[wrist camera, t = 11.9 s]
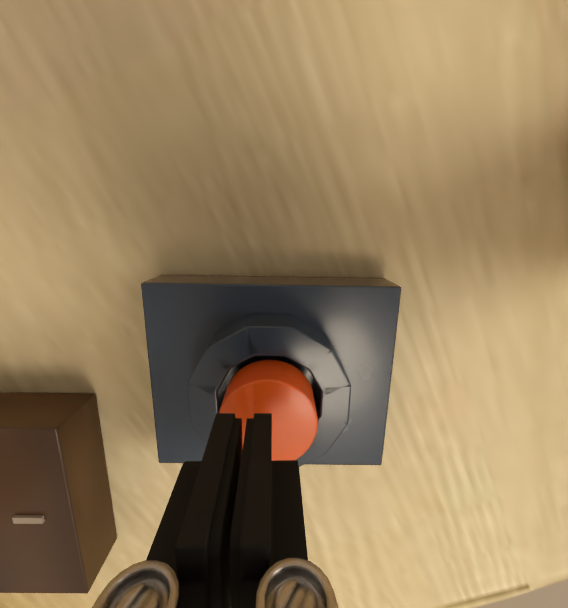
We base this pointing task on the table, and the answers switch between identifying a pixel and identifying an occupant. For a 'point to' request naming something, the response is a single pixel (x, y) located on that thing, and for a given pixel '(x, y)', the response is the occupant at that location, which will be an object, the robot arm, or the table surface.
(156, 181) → the table surface
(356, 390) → the button box
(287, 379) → the button
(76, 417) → the panel
